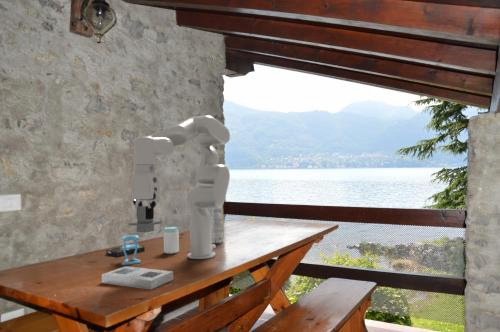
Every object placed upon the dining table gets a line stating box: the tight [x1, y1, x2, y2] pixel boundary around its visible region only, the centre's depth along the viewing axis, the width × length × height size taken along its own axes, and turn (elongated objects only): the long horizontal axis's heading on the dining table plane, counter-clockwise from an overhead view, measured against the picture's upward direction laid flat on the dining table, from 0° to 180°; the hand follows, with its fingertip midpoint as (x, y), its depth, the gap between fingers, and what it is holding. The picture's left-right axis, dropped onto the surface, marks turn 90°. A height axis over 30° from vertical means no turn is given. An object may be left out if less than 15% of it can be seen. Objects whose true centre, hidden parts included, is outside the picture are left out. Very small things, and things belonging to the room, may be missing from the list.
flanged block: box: [128, 204, 162, 233], centre depth 144 cm, size 8×8×9 cm
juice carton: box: [207, 204, 225, 244], centre depth 207 cm, size 9×8×24 cm
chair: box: [121, 234, 142, 266], centre depth 167 cm, size 8×8×12 cm
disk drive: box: [105, 245, 146, 258], centre depth 186 cm, size 10×3×15 cm
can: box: [162, 226, 180, 255], centre depth 184 cm, size 7×7×12 cm
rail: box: [101, 265, 174, 291], centre depth 138 cm, size 12×22×3 cm, turn 65°
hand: (145, 218), depth 144 cm, fingers closed on flanged block, 4 cm apart
